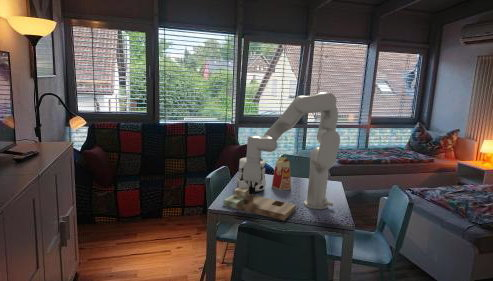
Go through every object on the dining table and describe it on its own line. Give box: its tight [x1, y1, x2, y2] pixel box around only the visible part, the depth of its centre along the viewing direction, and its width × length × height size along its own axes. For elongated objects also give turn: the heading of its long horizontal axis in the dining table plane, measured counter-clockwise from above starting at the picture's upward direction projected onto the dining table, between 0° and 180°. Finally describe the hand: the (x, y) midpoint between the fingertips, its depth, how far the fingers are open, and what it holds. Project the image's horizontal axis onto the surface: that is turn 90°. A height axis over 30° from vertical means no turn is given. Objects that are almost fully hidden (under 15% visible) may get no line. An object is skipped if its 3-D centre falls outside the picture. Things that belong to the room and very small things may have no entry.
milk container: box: [236, 157, 267, 193], centre depth 197 cm, size 17×17×18 cm
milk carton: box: [271, 156, 292, 191], centre depth 205 cm, size 9×9×20 cm
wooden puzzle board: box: [223, 194, 297, 221], centre depth 169 cm, size 33×16×3 cm, turn 63°
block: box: [233, 187, 249, 198], centre depth 177 cm, size 6×6×4 cm
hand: (251, 193), depth 176 cm, fingers closed
